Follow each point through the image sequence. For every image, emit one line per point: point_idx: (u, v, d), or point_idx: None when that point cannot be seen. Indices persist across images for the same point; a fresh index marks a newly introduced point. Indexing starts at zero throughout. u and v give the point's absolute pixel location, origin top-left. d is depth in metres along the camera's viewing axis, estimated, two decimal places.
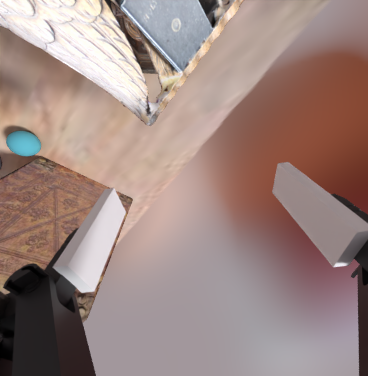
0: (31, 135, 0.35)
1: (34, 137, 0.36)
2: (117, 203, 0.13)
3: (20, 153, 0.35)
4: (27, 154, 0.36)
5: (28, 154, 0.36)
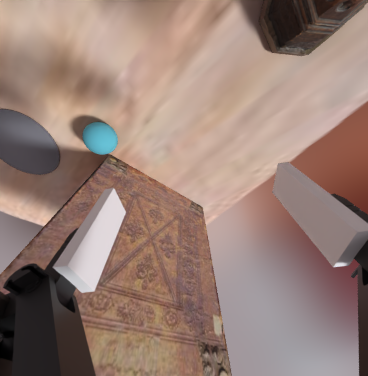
0: (111, 128, 0.28)
1: (114, 131, 0.28)
2: (117, 203, 0.13)
3: (98, 151, 0.27)
4: (105, 152, 0.28)
5: (106, 152, 0.28)
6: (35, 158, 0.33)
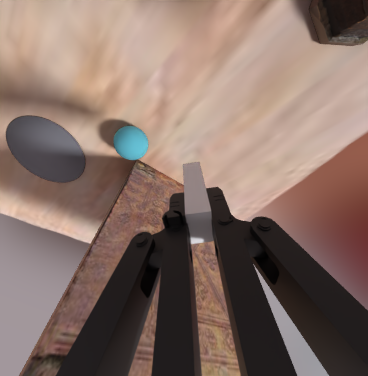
0: (142, 132, 0.26)
1: None
2: None
3: (130, 156, 0.26)
4: (136, 157, 0.26)
5: (137, 157, 0.27)
6: (60, 166, 0.32)
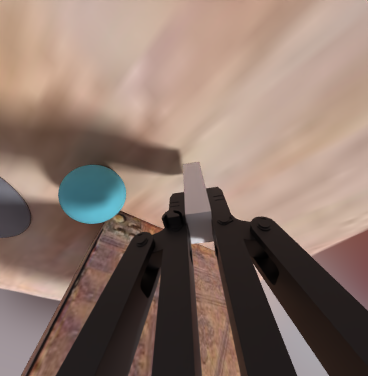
0: (114, 175, 0.15)
1: (119, 179, 0.15)
2: None
3: (91, 222, 0.14)
4: (104, 221, 0.15)
5: (105, 220, 0.15)
6: None
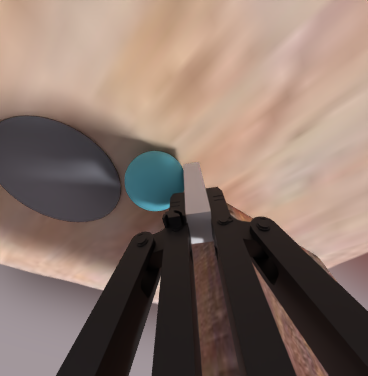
0: (160, 181, 0.12)
1: (164, 187, 0.12)
2: None
3: None
4: None
5: None
6: (78, 199, 0.19)
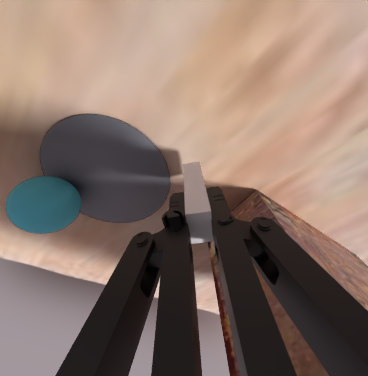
0: (46, 201, 0.14)
1: (52, 206, 0.14)
2: None
3: None
4: None
5: None
6: (124, 199, 0.19)
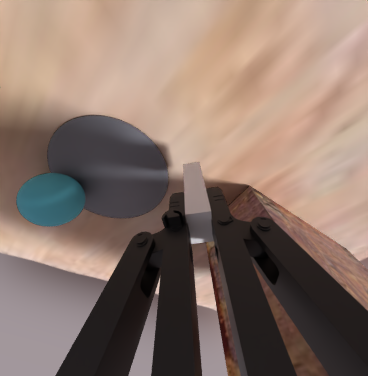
0: (54, 196, 0.15)
1: (60, 200, 0.15)
2: None
3: None
4: None
5: None
6: (126, 195, 0.20)
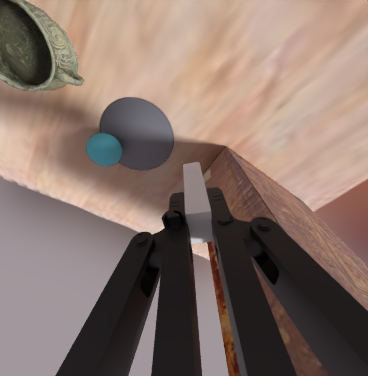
0: (108, 143, 0.25)
1: (111, 146, 0.26)
2: None
3: (95, 162, 0.27)
4: None
5: (102, 165, 0.28)
6: (146, 152, 0.31)
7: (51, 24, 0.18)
